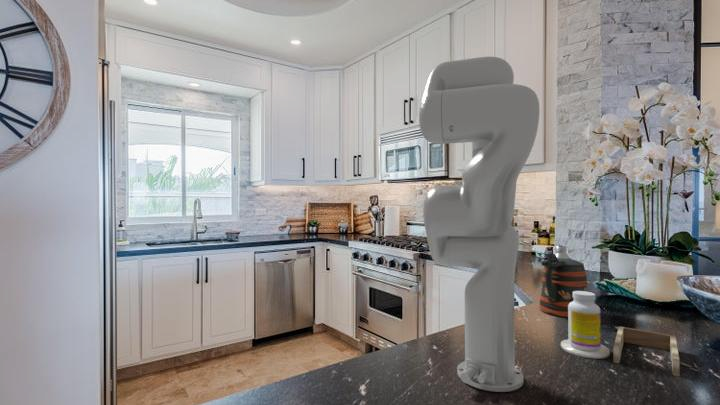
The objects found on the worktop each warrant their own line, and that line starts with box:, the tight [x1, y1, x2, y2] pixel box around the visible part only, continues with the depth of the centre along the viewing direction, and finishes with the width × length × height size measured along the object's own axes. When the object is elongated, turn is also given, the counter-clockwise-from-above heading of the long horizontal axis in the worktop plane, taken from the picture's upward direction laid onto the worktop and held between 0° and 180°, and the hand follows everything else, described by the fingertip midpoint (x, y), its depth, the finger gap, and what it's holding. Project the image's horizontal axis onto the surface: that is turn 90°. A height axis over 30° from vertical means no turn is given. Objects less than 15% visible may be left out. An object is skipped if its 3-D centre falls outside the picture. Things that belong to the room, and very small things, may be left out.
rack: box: [612, 326, 680, 377], centre depth 84 cm, size 17×11×4 cm, turn 141°
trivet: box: [560, 338, 611, 360], centre depth 88 cm, size 10×10×1 cm
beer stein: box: [538, 252, 589, 318], centre depth 118 cm, size 19×15×20 cm
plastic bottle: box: [554, 245, 570, 259], centre depth 132 cm, size 6×7×20 cm
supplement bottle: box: [567, 291, 602, 351], centre depth 88 cm, size 7×7×13 cm
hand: (487, 222), depth 96 cm, fingers open, 9 cm apart
